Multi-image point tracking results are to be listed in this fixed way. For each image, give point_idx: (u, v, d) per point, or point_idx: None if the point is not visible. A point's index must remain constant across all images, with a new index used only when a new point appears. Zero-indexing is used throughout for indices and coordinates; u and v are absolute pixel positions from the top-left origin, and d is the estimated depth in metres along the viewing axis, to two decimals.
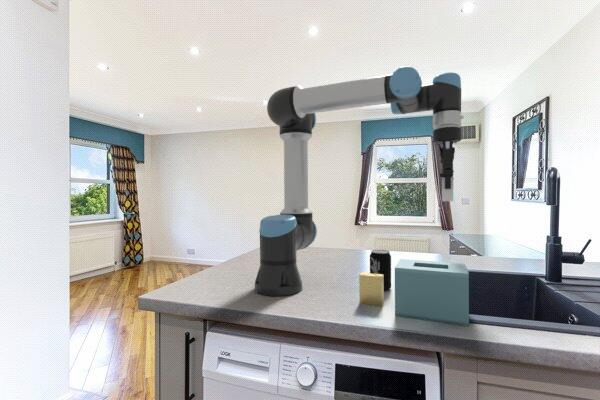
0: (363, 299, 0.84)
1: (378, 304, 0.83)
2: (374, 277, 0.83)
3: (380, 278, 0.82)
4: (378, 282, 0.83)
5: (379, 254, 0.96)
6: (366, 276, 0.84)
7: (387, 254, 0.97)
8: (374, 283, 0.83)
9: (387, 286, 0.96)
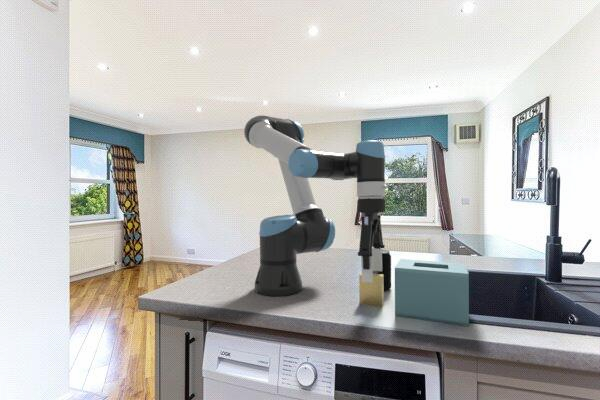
0: (363, 299, 0.84)
1: (378, 304, 0.83)
2: (374, 277, 0.83)
3: (380, 278, 0.82)
4: (378, 282, 0.83)
5: None
6: None
7: (387, 254, 0.97)
8: (374, 283, 0.83)
9: (387, 286, 0.96)
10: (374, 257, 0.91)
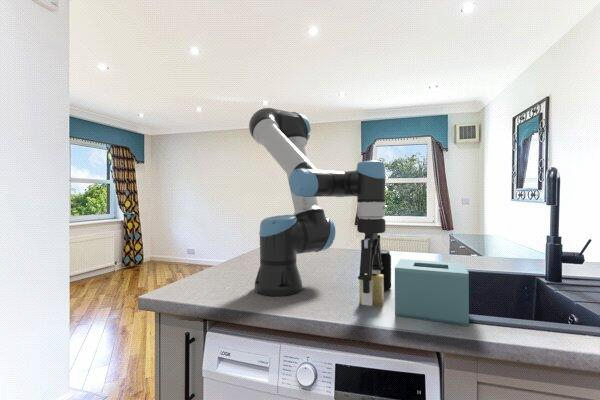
0: None
1: (378, 304, 0.83)
2: (374, 277, 0.83)
3: (380, 278, 0.82)
4: (378, 282, 0.83)
5: None
6: None
7: (387, 254, 0.97)
8: (374, 283, 0.83)
9: (387, 286, 0.96)
10: None
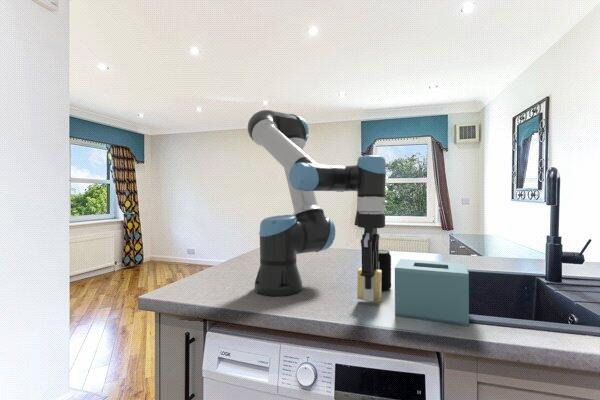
0: (360, 294, 0.85)
1: (376, 299, 0.83)
2: None
3: (378, 274, 0.83)
4: (376, 278, 0.83)
5: (379, 254, 0.96)
6: None
7: (387, 254, 0.97)
8: None
9: (387, 286, 0.96)
10: None
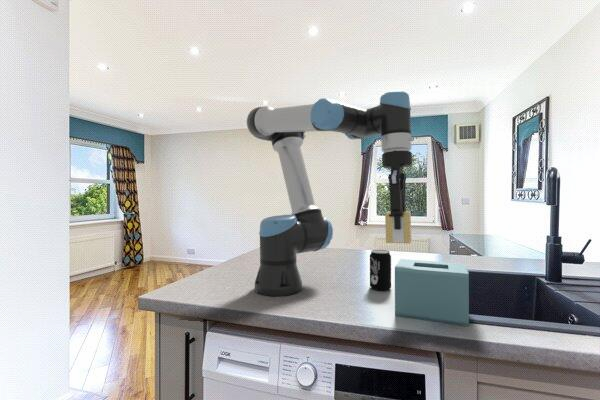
0: (389, 237, 0.81)
1: (406, 241, 0.79)
2: None
3: (408, 213, 0.79)
4: (405, 218, 0.79)
5: (379, 254, 0.96)
6: None
7: (387, 254, 0.97)
8: None
9: (387, 286, 0.96)
10: None
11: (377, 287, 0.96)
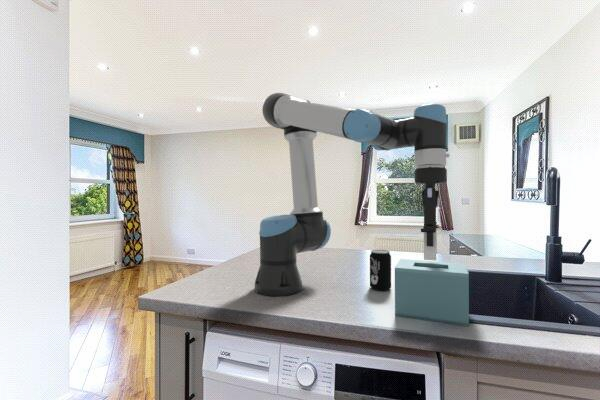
0: None
1: None
2: None
3: None
4: None
5: (379, 254, 0.96)
6: None
7: (387, 254, 0.97)
8: None
9: (387, 286, 0.96)
10: None
11: (377, 287, 0.96)
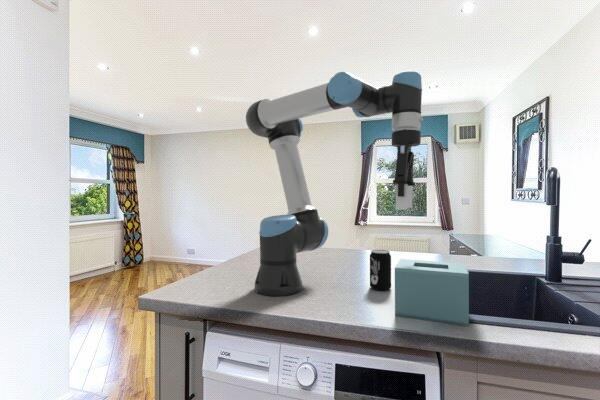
0: None
1: None
2: None
3: None
4: None
5: (379, 254, 0.96)
6: None
7: (387, 254, 0.97)
8: None
9: (387, 286, 0.96)
10: None
11: (377, 287, 0.96)
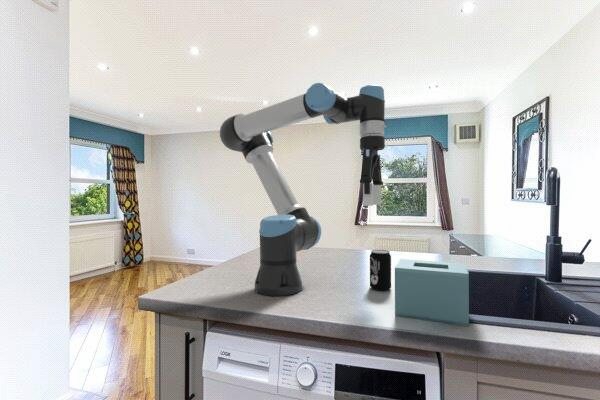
0: None
1: None
2: None
3: None
4: None
5: (379, 254, 0.96)
6: None
7: (387, 254, 0.97)
8: None
9: (387, 286, 0.96)
10: (374, 192, 1.03)
11: (377, 287, 0.96)
